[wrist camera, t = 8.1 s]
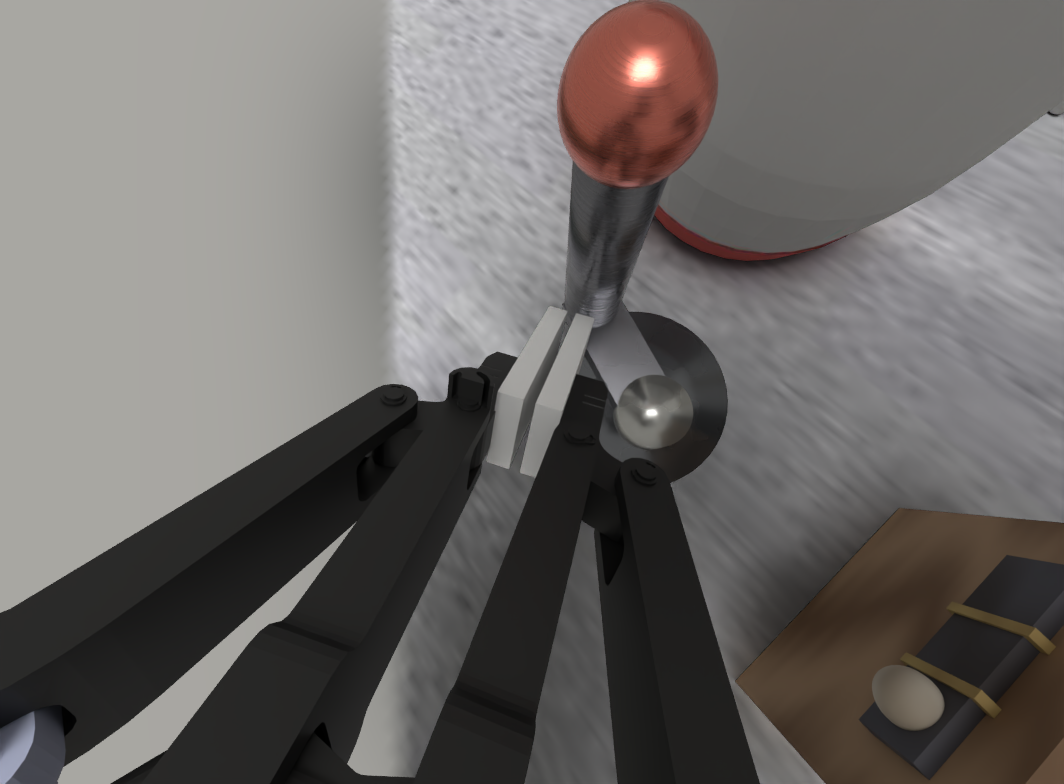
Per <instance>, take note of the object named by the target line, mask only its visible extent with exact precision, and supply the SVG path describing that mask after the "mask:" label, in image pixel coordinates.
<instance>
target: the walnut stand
mask: <svg viewBox="0 0 1064 784" xmlns="http://www.w3.org/2000/svg"><path fill="white" fill-rule="evenodd" d="M735 682H736V683H737V684H738V685H739V686H740V687H741V688H742V690H743V691H744V692H745V693H746V694H747V695H748V696H749V697H750V699H751V700H752V701H753V702H754V703H755V704H756V705H757V707H758V708H759V709H760V710H761V711H762V712H763V713H764V714H765V716H766V717H767V718H768V719H769V720H770V721H771V722H772V723H773V725H774V726H775V727H776V728H777V729H778V730H779V731H780V732H781V734H782V735H783V736H784V737H785V738H786V739H787V740H788V742H789V743H790V744H791V745H792V746H793V747H794V748H795V749H796V751H797V752H798V753H799V754H800V755H801V756H802V757H803V758H804V760H805V761H806V762H807V763H808V764H809V765H810V766H811V767H812V769H813V770H814V771H815V772H816V773H817V774H818V775H819V777H820V778H821V779H822V780H823V781H824V782H825V783H826V784H1064V523H1058V522H1047V521H1036V520H1025V519H1014V518H1003V517H992V516H981V515H970V514H959V513H948V512H937V511H926V510H915V509H904V508H899V509H898V510H897V511H896V512H895V513H894V514H893V515H892V516H891V517H890V518H889V519H888V520H887V522H886V523H885V524H884V525H883V526H882V527H881V528H880V529H879V530H878V531H877V532H876V533H875V534H874V535H873V536H872V537H871V538H870V539H869V541H868V542H867V543H866V544H865V545H864V546H863V547H862V548H861V549H860V550H859V551H858V552H857V553H856V554H855V555H854V556H853V557H852V558H851V560H850V561H849V562H848V563H847V564H846V565H845V566H844V567H843V568H842V569H841V570H840V571H839V572H838V573H837V574H836V575H835V576H834V577H833V578H832V580H831V581H830V582H829V583H828V584H827V585H826V586H825V587H824V588H823V589H822V590H821V591H820V592H819V593H818V594H817V595H816V596H815V597H814V599H813V600H812V601H811V602H810V603H809V604H808V605H807V606H806V607H805V608H804V609H803V610H802V611H801V612H800V613H799V614H798V615H797V616H796V618H795V619H794V620H793V621H792V622H791V623H790V624H789V625H788V626H787V627H786V628H785V629H784V630H783V631H782V632H781V633H780V634H779V635H778V637H777V638H776V639H775V640H774V641H773V642H772V643H771V644H770V645H769V646H768V647H767V648H766V649H765V650H764V651H763V652H762V653H761V654H760V655H759V657H758V658H757V659H756V660H755V661H754V662H753V663H752V664H751V665H750V666H749V667H748V668H747V669H746V670H745V671H744V672H743V673H742V674H741V676H740V677H739V678H738V679H737V680H736V681H735Z"/></svg>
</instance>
